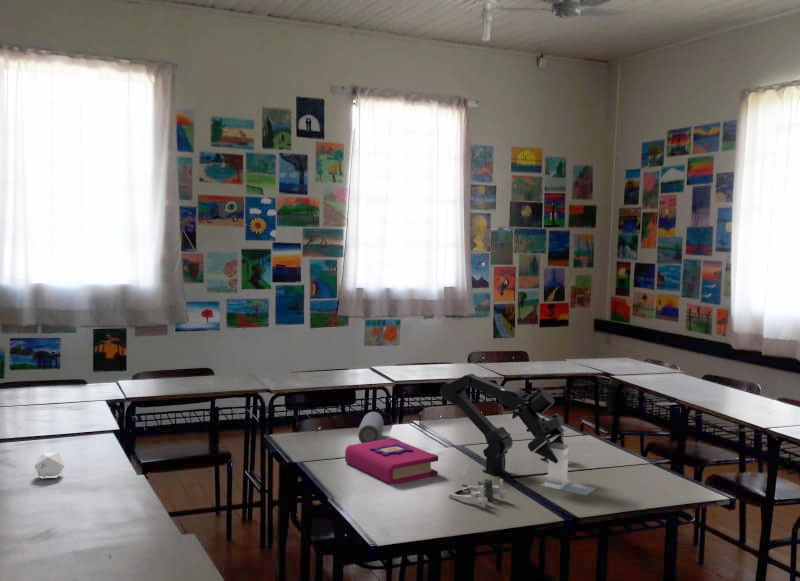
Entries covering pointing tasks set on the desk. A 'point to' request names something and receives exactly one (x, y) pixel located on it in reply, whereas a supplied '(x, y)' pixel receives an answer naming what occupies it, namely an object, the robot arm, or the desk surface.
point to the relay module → (559, 463)
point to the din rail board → (567, 486)
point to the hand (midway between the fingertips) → (562, 459)
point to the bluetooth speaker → (371, 427)
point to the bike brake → (481, 492)
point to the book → (391, 460)
